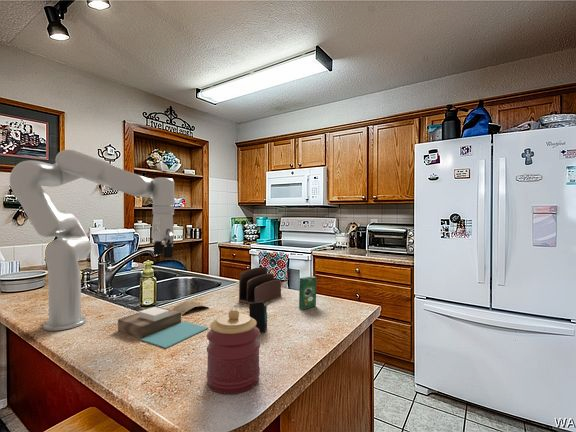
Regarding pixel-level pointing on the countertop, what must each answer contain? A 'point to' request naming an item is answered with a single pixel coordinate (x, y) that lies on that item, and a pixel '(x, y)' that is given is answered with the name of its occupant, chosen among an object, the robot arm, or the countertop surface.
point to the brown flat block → (147, 324)
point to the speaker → (259, 315)
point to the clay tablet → (186, 306)
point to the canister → (233, 353)
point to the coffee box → (307, 292)
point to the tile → (154, 314)
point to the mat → (174, 334)
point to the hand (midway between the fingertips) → (162, 255)
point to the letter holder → (258, 286)
